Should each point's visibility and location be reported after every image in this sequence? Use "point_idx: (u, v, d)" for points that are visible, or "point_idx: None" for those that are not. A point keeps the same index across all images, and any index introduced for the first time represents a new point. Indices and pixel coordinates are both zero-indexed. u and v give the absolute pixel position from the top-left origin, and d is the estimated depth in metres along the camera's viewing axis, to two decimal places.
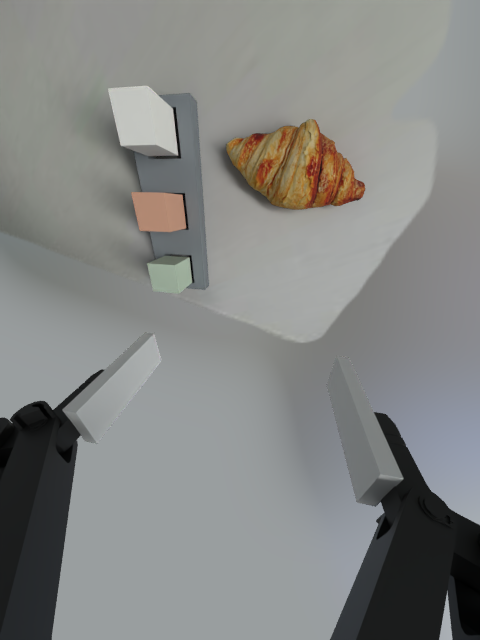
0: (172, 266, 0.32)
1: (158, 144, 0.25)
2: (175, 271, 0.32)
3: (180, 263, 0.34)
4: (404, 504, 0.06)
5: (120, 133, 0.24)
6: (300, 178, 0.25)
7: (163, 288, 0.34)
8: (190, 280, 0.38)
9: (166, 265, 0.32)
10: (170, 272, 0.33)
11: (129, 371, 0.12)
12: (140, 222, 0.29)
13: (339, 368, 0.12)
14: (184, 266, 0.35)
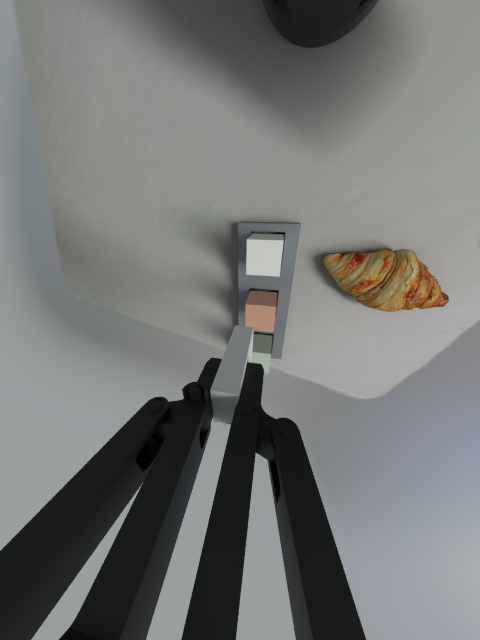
0: (268, 354, 0.36)
1: (279, 274, 0.29)
2: (270, 358, 0.37)
3: None
4: (232, 418, 0.09)
5: (248, 267, 0.29)
6: (398, 299, 0.29)
7: None
8: None
9: (262, 353, 0.37)
10: (265, 358, 0.37)
11: None
12: (247, 324, 0.34)
13: (242, 334, 0.15)
14: None
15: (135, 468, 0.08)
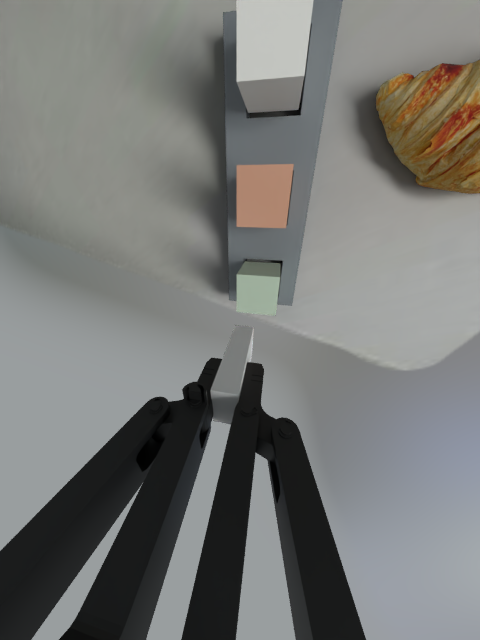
0: (276, 278, 0.22)
1: (303, 77, 0.14)
2: (278, 285, 0.22)
3: None
4: (232, 418, 0.09)
5: (241, 57, 0.14)
6: None
7: (253, 308, 0.24)
8: None
9: (266, 277, 0.22)
10: (271, 287, 0.23)
11: None
12: (241, 214, 0.19)
13: (242, 334, 0.15)
14: None
15: (135, 468, 0.08)
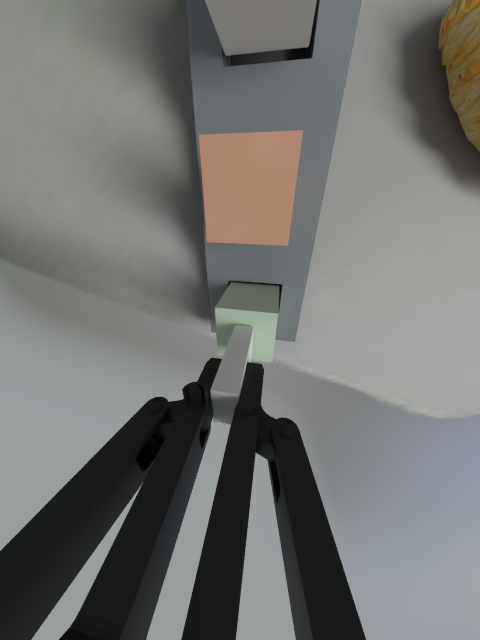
0: (272, 314, 0.15)
1: None
2: (276, 324, 0.15)
3: (278, 304, 0.16)
4: (232, 418, 0.09)
5: None
6: None
7: None
8: None
9: (258, 313, 0.15)
10: (265, 326, 0.15)
11: None
12: (212, 222, 0.11)
13: (242, 334, 0.15)
14: None
15: (135, 468, 0.08)
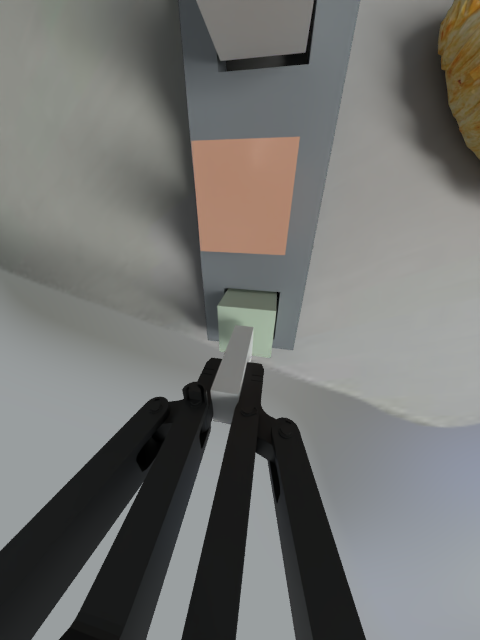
0: (270, 312, 0.16)
1: None
2: (274, 321, 0.16)
3: None
4: (232, 418, 0.09)
5: None
6: None
7: None
8: None
9: (257, 310, 0.16)
10: (264, 323, 0.17)
11: None
12: (206, 230, 0.11)
13: (242, 334, 0.15)
14: None
15: (135, 467, 0.08)
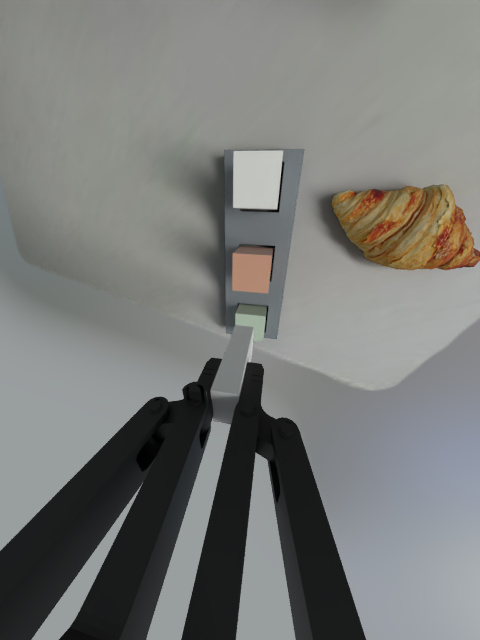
0: (262, 316, 0.31)
1: None
2: (264, 321, 0.32)
3: None
4: (232, 418, 0.09)
5: (236, 195, 0.21)
6: (426, 246, 0.23)
7: None
8: None
9: (256, 316, 0.31)
10: (259, 322, 0.32)
11: None
12: (235, 282, 0.26)
13: (242, 334, 0.15)
14: None
15: (135, 468, 0.08)
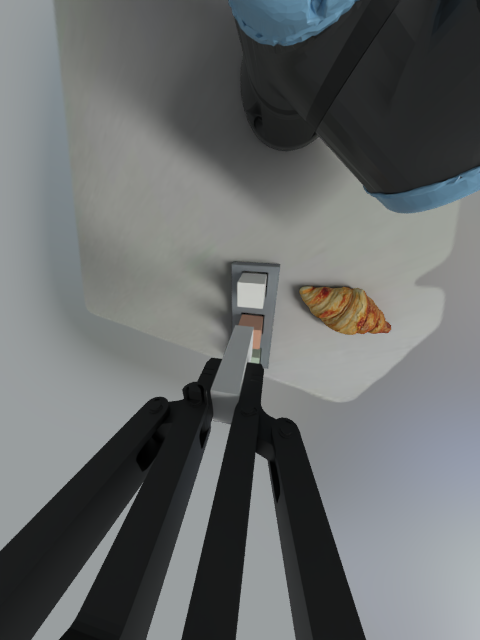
0: (257, 358, 0.47)
1: (262, 307, 0.38)
2: (258, 361, 0.48)
3: (259, 353, 0.49)
4: (232, 418, 0.09)
5: (239, 301, 0.37)
6: (352, 326, 0.39)
7: None
8: None
9: (253, 357, 0.48)
10: (255, 361, 0.48)
11: None
12: None
13: (242, 334, 0.15)
14: None
15: (135, 468, 0.08)
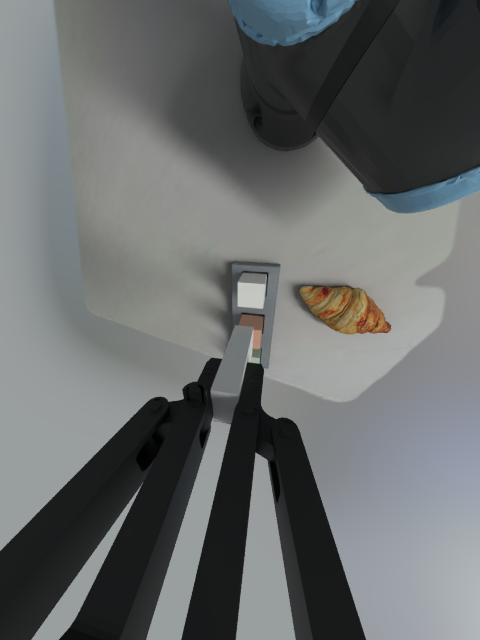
0: (257, 358, 0.47)
1: None
2: (258, 361, 0.48)
3: (260, 353, 0.49)
4: (232, 418, 0.09)
5: (239, 301, 0.37)
6: (352, 326, 0.39)
7: None
8: None
9: (253, 357, 0.48)
10: (255, 361, 0.48)
11: None
12: None
13: (242, 334, 0.15)
14: (260, 352, 0.51)
15: (135, 468, 0.08)
